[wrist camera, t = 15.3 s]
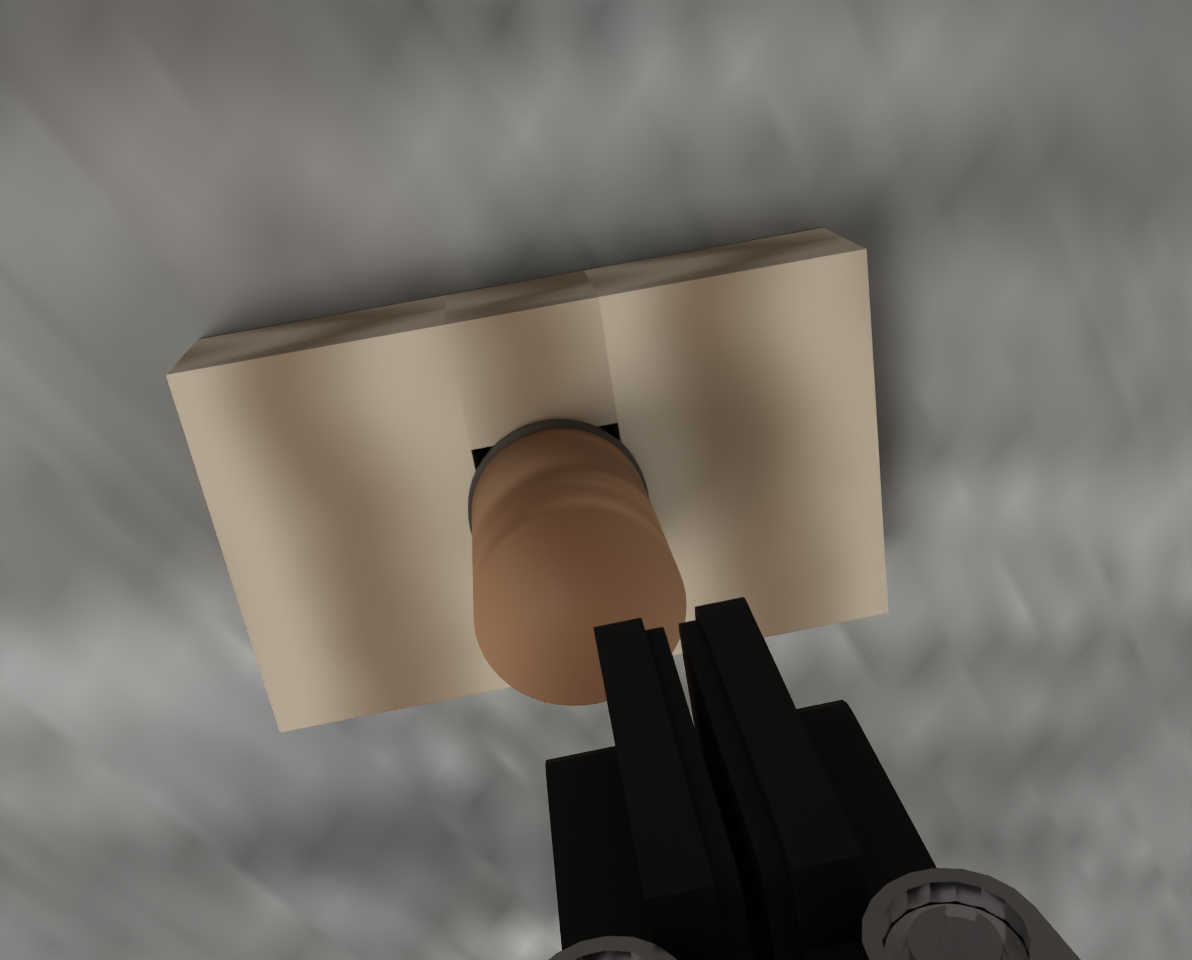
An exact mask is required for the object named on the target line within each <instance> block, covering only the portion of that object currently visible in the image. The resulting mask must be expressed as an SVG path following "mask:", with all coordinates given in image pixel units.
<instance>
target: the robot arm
mask: <svg viewBox="0 0 1192 960" xmlns="http://www.w3.org/2000/svg"><path fill="white" fill-rule="evenodd" d="M593 629H594V635H595V640H596V645H597V651H598V656H599V661H600V667H601V672H602V677H603V682H604V688H605V693H606V698H607V704H608V709H609V714H610V719H611V725H612V730H613V735H614V741H615V746H613V747H608V748H603V749H598V750H593V751H588V752H583V753H579V754H574V755H569V756H564V757H559V758H554V759H549V760H546V779H547V790H548V801H549V812H550V823H551V834H552V845H553V856H554V867H555V878H556V889H557V900H558V911H559V922H560V933H561V944H562V951H560V952H558V953H556V954H555V955H554V956H553V957H552V958H550V959H549V960H1080V959H1079V958H1078V956H1077V955H1076V954H1075V953H1074V952H1073V951H1072V949H1071V948H1070V947H1069V946H1068V945H1067V944H1066V942H1065V941H1064V940H1063V939H1062V938H1061V937H1060V935H1059V934H1058V933H1057V932H1056V931H1055V929H1054V928H1053V927H1052V926H1051V925H1050V924H1049V922H1048V921H1047V920H1046V919H1045V918H1044V917H1043V915H1042V914H1041V913H1040V912H1039V911H1038V910H1037V908H1036V907H1035V906H1034V905H1033V904H1031V903H1030V902H1029V901H1028V900H1027V899H1026V898H1025V897H1023V896H1022V895H1021V894H1020V893H1019V892H1018V891H1017V890H1016V889H1014V888H1012V887H1010V886H1008V885H1006V884H1004V883H1002V882H1001V881H999V880H997V879H995V878H993V877H991V876H988V875H984V874H980V873H976V872H972V871H968V870H965V869H951V868H936V866H935V864H934V862H933V860H932V858H931V856H930V855H929V853H928V851H927V849H926V847H925V845H924V843H923V842H922V840H921V838H920V836H919V834H918V832H917V830H916V829H915V827H914V825H913V823H912V821H911V819H910V817H909V816H908V814H907V812H906V810H905V808H904V806H903V804H902V803H901V801H900V799H899V797H898V795H897V793H896V791H895V790H894V788H893V786H892V784H891V782H890V780H889V778H888V777H887V775H886V773H885V771H884V769H883V767H882V765H881V764H880V762H879V760H878V758H877V756H876V754H875V752H874V750H873V749H872V747H871V745H870V743H869V741H868V739H867V737H866V736H865V734H864V732H863V730H862V728H861V726H860V724H859V723H858V721H857V719H856V717H855V715H854V713H853V711H852V710H851V708H850V707H849V705H848V704H847V702H845V701H843V700H839V701H834V702H829V703H824V704H819V705H814V706H809V707H804V708H799V709H796V707H795V705H794V703H793V701H792V699H791V696H790V694H789V692H788V690H787V688H786V686H785V683H784V681H783V679H782V677H781V675H780V672H779V670H778V668H777V666H776V664H775V662H774V659H773V657H772V655H771V653H770V651H769V649H768V646H767V644H766V642H765V640H764V638H763V635H762V633H761V631H760V629H759V627H758V625H757V622H756V620H755V618H754V616H753V614H752V612H751V609H750V607H749V605H748V603H747V601H746V599H745V598H744V597H740V598H735V599H730V600H725V601H720V602H715V603H710V604H705V605H700V606H695V620H693V621H688V622H683V623H679V634H680V641H681V647H682V653H683V659H684V665H685V671H686V678H687V684H688V690H689V696H690V702H691V708H692V714H693V721H694V725H693V721H692V718H691V715H690V712H689V708H688V705H687V702H686V698H685V695H684V692H683V689H682V685H681V682H680V679H679V675H678V672H677V669H676V666H675V662H674V659H673V656H672V652H671V649H670V646H669V643H668V639H667V636H666V633H665V630H664V627H658V628H653V629H648V630H645V628H644V624H643V621H642V618H636V619H631V620H626V621H621V622H616V623H611V624H606V625H601V626H596V627H593ZM694 727H695V728H694Z"/></svg>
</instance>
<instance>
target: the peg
mask: <svg viewBox="0 0 1192 960" xmlns="http://www.w3.org/2000/svg"><path fill="white" fill-rule="evenodd" d="M468 520H469V526H470V531H471V534H472V566H473V617H474V628H475V635H476V638H477V641H478V644H479V647H480V649H481V651H482V653H483V656H484V658H485V659H486V661H487V662H488V664H489V665H490V667H491V668H492V669H493V670H494V671H495V672H496V674H497V675H498V676H499V677H500V678H501V679H503V680H504V681H505V682H506V683H507V684H508V685H510V686H511V687H513V688H514V689H516V690H518V691H519V692H521V693H523V694H525V695H527V696H529V697H531V698H534V699H537V700H540V701H543V702H547V703H552V704H557V705H569V706H577V705H590V704H597V703H601V702H605V701H607V698H606V693H605V688H604V682H603V677H602V672H601V667H600V661H599V656H598V651H597V645H596V640H595V635H594V629H593V627H596V626H601V625H606V624H611V623H616V622H621V621H626V620H631V619H636V618H642V621H643V624H644V628H645V630H648V629H653V628H658V627H664V630H665V633H666V636H667V639H668V643H669V646H670V649H671V652H672V653H673V651H674V650H675V648H676V646H677V644H678V642H679V640H680V634H679V623H683V622H685V619H686V608H687V604H686V592H685V587H684V583H683V580H682V577H681V574H680V572H679V569H678V567H677V564H676V562H675V560H674V557H673V555H672V552H671V550H670V548H669V545H668V543H667V540H666V538H665V535H664V533H663V531H662V528H661V526H660V523H659V521H658V519H657V516H656V514H655V511H654V509H653V507H652V504H651V502H650V499H649V494H648V489H647V485H646V482H645V479H644V476H643V474H642V471H641V469H640V467H639V465H638V463H637V461H636V459H635V458H634V456H633V455H632V454H631V452H630V451H629V450H628V448H627V447H626V446H625V445H624V444H623V443H622V442H621V441H620V440H618V439H617V438H616V437H614V436H613V435H612V434H610V433H608V432H607V431H605V430H603V429H601V428H599V427H597V426H594V425H592V424H589V423H585V422H581V421H576V420H568V419H553V420H545V421H540V422H536V423H532V424H529V425H526V426H524V427H521V428H519V429H517V430H515V431H513V432H511V433H510V434H508V435H507V436H505V437H504V438H502V439H501V440H500V441H499V442H497V443H496V444H495V445H494V446H493V447H492V448H491V449H490V450H489V451H488V453H487V454H486V455H485V456H484V458H483V459H482V461H481V462H480V464H479V465H478V467H477V469H476V471H475V474H474V476H473V478H472V482H471V485H470V489H469V496H468Z"/></svg>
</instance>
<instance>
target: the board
mask: <svg viewBox="0 0 1192 960" xmlns="http://www.w3.org/2000/svg"><path fill="white" fill-rule="evenodd" d="M166 377H167V380H168V383H169V386H170V389H171V392H172V396H173V399H174V402H175V405H176V408H177V411H178V414H179V417H180V421H181V424H182V427H183V430H184V433H185V436H186V439H187V443H188V446H189V449H190V452H191V455H192V458H193V461H194V465H195V468H196V471H197V474H198V477H199V480H200V483H201V486H202V490H203V493H204V496H205V499H206V502H207V505H208V508H209V512H210V515H211V518H212V521H213V524H214V527H215V530H216V534H217V537H218V540H219V543H220V546H221V549H222V552H223V555H224V559H225V562H226V565H227V568H228V571H229V574H230V577H231V581H232V584H233V587H234V590H235V593H236V596H237V599H238V603H239V606H240V609H241V612H242V615H243V618H244V621H245V624H246V628H247V631H248V634H249V637H250V640H251V643H252V646H253V650H254V653H255V656H256V659H257V662H258V665H259V668H260V672H261V675H262V678H263V681H264V684H265V687H266V690H267V693H268V697H269V700H270V703H271V706H272V709H273V712H274V715H275V719H276V722H277V725H278V728H279V731H280V732H285V731H290V730H295V729H300V728H305V727H310V726H315V725H321V724H326V723H331V722H336V721H341V720H346V719H351V718H356V717H361V716H366V715H371V714H377V713H382V712H387V711H392V710H397V709H402V708H407V707H412V706H417V705H422V704H427V703H433V702H438V701H443V700H448V699H453V698H458V697H463V696H468V695H473V694H478V693H483V692H489V691H494V690H499V689H504V688H509V687H511V686H510V685H508V684H507V683H506V682H505V681H504V680H503V679H501V678H500V677H499V676H498V675H497V674H496V672H495V671H494V670H493V669H492V668H491V667H490V665H489V664H488V662H487V661H486V659H485V658H484V656H483V653H482V651H481V649H480V647H479V644H478V641H477V638H476V635H475V628H474V617H473V566H472V534H471V531H470V526H469V520H468V496H469V489H470V485H471V482H472V478H473V476H474V474H475V471H476V469H477V467H478V465H479V464H480V462H481V458H480V453H479V448H484V447H490V446H494V445H495V444H496V443H497V442H499V441H500V440H501V439H502V438H504V437H505V436H507V435H508V434H510V433H511V432H513V431H515V430H517V429H519V428H521V427H524V426H526V425H529V424H532V423H536V422H540V421H545V420H553V419H568V420H576V421H581V422H585V423H589V424H592V425H594V426H603V425H608V424H609V431H610V434H612V435H613V436H614V437H616V438H617V439H618V440H620V441H621V442H622V443H623V444H624V445H625V446H626V447H627V448H628V450H629V451H630V452H631V454H632V455H633V456H634V458H635V459H636V461H637V463H638V465H639V467H640V469H641V471H642V474H643V476H644V479H645V482H646V485H647V489H648V494H649V499H650V502H651V504H652V507H653V509H654V511H655V514H656V516H657V519H658V521H659V523H660V526H661V528H662V531H663V533H664V535H665V538H666V540H667V543H668V545H669V548H670V550H671V552H672V555H673V557H674V560H675V562H676V564H677V567H678V569H679V572H680V574H681V577H682V580H683V583H684V587H685V592H686V604H687V608H686V619H685V622H688V621H693V620H695V606H700V605H705V604H710V603H715V602H720V601H725V600H730V599H735V598H740V597H744V598H745V599H746V601H747V603H748V605H749V607H750V609H751V612H752V614H753V616H754V618H755V620H756V622H757V625H758V627H759V629H760V631H761V633H762V635H763V637H769V636H774V635H779V634H784V633H789V632H794V631H799V630H804V629H809V628H814V627H819V626H825V625H830V624H835V623H840V622H845V621H850V620H855V619H860V618H865V617H870V616H875V615H881V614H886V613H888V597H887V581H886V564H885V547H884V530H883V514H882V497H881V480H880V464H879V447H878V430H877V414H876V397H875V380H874V364H873V347H872V330H871V314H870V297H869V280H868V264H867V249H866V248H864V247H862V246H860V245H858V244H856V243H854V242H852V241H850V240H848V239H846V238H844V237H842V236H840V235H838V234H836V233H834V232H832V231H830V230H828V229H826V228H818V229H813V230H807V231H802V232H796V233H791V234H785V235H779V236H774V237H768V238H763V239H757V240H751V241H746V242H740V243H735V244H729V245H723V246H718V247H712V248H707V249H701V250H695V251H690V252H684V253H679V254H673V255H667V256H662V257H656V258H651V259H645V260H639V261H634V262H628V263H623V264H617V265H611V266H606V267H600V268H595V269H589V270H584V271H578V272H572V273H567V274H561V275H556V276H550V277H544V278H539V279H533V280H528V281H522V282H516V283H511V284H505V285H500V286H494V287H488V288H483V289H477V290H472V291H466V292H460V293H455V294H449V295H444V296H438V297H432V298H427V299H421V300H416V301H410V302H405V303H399V304H393V305H388V306H382V307H377V308H371V309H365V310H360V311H354V312H349V313H343V314H337V315H332V316H326V317H321V318H315V319H309V320H304V321H298V322H293V323H287V324H281V325H276V326H270V327H265V328H259V329H253V330H248V331H242V332H237V333H231V334H225V335H220V336H214V337H209V338H203V339H198V340H197V341H196V342H195V343H194V345H193V346H192V347H191V348H190V349H189V350H188V351H187V352H186V353H185V354H184V356H183V357H182V358H181V359H180V360H179V361H178V362H177V363H176V364H175V366H174V367H173V368H172V369H171V370H170V371H169V372H168V373H167V374H166ZM677 654H682V647H681V641H680V640H679V642H678V644H677V646H676V648H675V650H674V651H673V653H672V655H677Z"/></svg>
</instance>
